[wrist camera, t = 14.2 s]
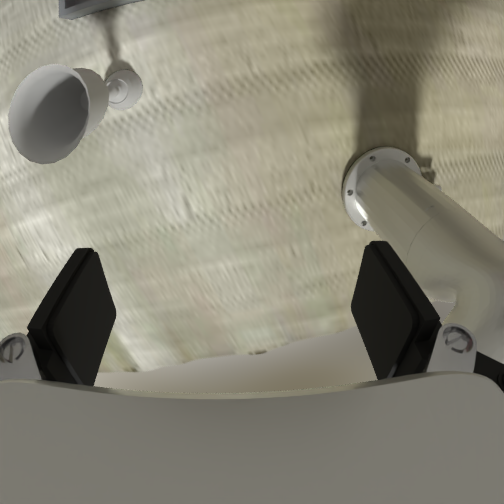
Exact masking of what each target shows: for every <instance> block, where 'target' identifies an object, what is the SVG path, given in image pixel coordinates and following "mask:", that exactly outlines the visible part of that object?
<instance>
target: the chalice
mask: <svg viewBox="0 0 504 504" xmlns="http://www.w3.org/2000/svg"><path fill="white" fill-rule="evenodd" d="M142 88H143V85H142V82H141V79H140V78H139V76H138V75H137V74H136V73H134V72H133V71H130V70H119V71H116V72H114V73H113V74H111V75H110V76H109V77H108V79H107V80H106V81H105V82H104V81H103V79H102V78H101V76H100V75H98V74H97V73H95V72H94V71H92V70H90V69H84V68H76V69H71V68H70V67H68V66H66V65H60V64H50V65H46V66H42V67H39V68H38V69H36V70H35V71H33V72H32V73H30V74H29V75H28V76H27V77H26V78H25V79H24V80H23V81H22V82H21V84H20V85H19V86H18V88H17V90H16V92H15V94H14V96H13V98H12V101H11V105H10V109H9V114H8V117H9V131H10V135H11V138H12V142H13V144H14V145H15V147H16V148H17V150H18V151H19V153H20V154H21V155H23V156H24V157H25V158H27V159H28V160H29V161H32V162H35V163H39V164H49V163H55V162H57V161H59V160H61V159H63V158H65V157H67V156H68V155H69V154H70V153H71V152H72V151H73V150H74V149H75V148H76V147H77V145H78V144H79V142H80V140H81V139H82V138H84V137H86V136H87V135H89V134H90V133H91V132H92V131H93V130H95V129H96V128H97V127H98V125H99V124H100V122H101V121H102V119H103V118H104V115H105V112H106V110H107V107H108V105H109V106H110V107H112V108H114V109H117V110H125V109H128V108H131V107H132V106H133V105H135V104H136V103H137V102H138V100H139V99H140V97H141V94H142Z"/></svg>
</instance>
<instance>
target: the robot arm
mask: <svg viewBox="0 0 504 504" xmlns="http://www.w3.org/2000/svg"><path fill="white" fill-rule="evenodd" d="M370 157H371V158H370ZM348 190H349V191H348ZM347 191H348V192H347ZM342 200H343V204H344V208H345V210H346V212H347V214H348V215H349V217H350V218H351V220H352V221H353V222H354V223H355V224H356V225H358V226H359V227H361V228H363V229H366V230H368V231H375V232H376V233H377V235H378V236H379V237H380V239H381V240H382V241H371V242H370V244H369V245H367V246H366V247H365V249H364V254H363V258H362V262H361V267H360V271H359V275H358V279H357V283H356V287H355V291H354V295H353V299H352V303H351V311H352V314H353V317H354V319H355V322H356V324H357V327H358V329H359V332H360V334H361V337H362V339H363V342H364V344H365V347H366V350H367V352H368V355H369V357H370V360H371V362H372V365H373V368H374V371H375V373H376V376H377V379H378V380H375V381H368V382H362V383H354V384H347V385H339V386H331V387H322V388H312V389H301V390H290V391H274V392H258V393H257V392H255V393H169V392H148V391H134V390H123V389H112V388H103V387H95V386H94V382H95V379H96V376H97V373H98V369H99V366H100V363H101V360H102V357H103V354H104V351H105V348H106V345H107V342H108V339H109V336H110V333H111V330H112V327H113V325H114V322H115V319H116V308H115V305H114V303H113V300H112V297H111V294H110V291H109V288H108V284H107V281H106V278H105V275H104V272H103V268H102V265H101V262H100V258H99V255H98V253H97V252H94V250H93V249H92V248H77V249H76V250H75V251H74V253H73V254H72V256H71V257H70V258H69V260H68V261H67V263H66V264H65V266H64V267H63V269H62V270H61V272H60V273H59V275H58V276H57V278H56V280H55V281H54V283H53V284H52V286H51V287H50V289H49V291H48V292H47V294H46V296H45V297H44V299H43V300H42V302H41V304H40V305H39V307H38V309H37V311H36V312H35V314H34V316H33V317H32V319H31V321H30V323H29V325H28V326H27V329H28V330H29V332H28V334H27V336H26V335H24V334H22V333H14V334H11V335H8V336H7V337H5V338H4V339H3V340H2V341H1V342H0V504H504V241H503V240H501V239H500V238H499V237H498V236H496V235H495V234H494V233H493V232H491V231H490V230H489V229H488V228H487V227H485V226H484V225H483V224H482V223H480V222H479V221H478V220H477V219H476V218H475V217H473V216H472V215H471V214H470V213H468V212H467V211H466V210H465V209H464V208H462V207H461V206H460V205H459V204H457V203H456V202H455V201H454V200H452V199H451V198H450V197H449V196H447V195H446V194H445V193H443V192H442V191H441V186H440V185H437V184H431V183H430V182H429V181H427V180H426V179H425V178H423V177H422V174H421V171H420V168H419V166H418V164H417V163H416V161H415V160H414V159H413V158H412V157H411V156H410V155H409V154H407V153H406V152H404V151H402V150H400V149H398V148H394V147H379V148H375V149H373V150H370V151H368V152H366V153H365V154H363V155H362V156H361V157H360V158H358V159H357V160H356V161H355V162H354V164H353V165H352V166H351V168H350V169H349V171H348V173H347V175H346V177H345V180H344V183H343V190H342ZM426 296H427V297H429V298H431V299H434V300H437V301H442V302H453V303H455V306H454V308H453V309H452V311H451V312H450V314H449V315H448V316H447V317H446V319H445V320H444V322H443V323H442V324H441V323H440V321H439V320H440V317H439V315H438V313H437V312H436V310H435V309H434V307H433V306H432V304H431V303H430V301H429V300H428V298H427V297H426Z"/></svg>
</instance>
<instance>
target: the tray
mask: <svg viewBox="0 0 504 504" xmlns="http://www.w3.org/2000/svg"><path fill="white" fill-rule="evenodd" d="M139 1H143V0H59V17H60V18H65V19H70V20H73V19H76V18H79V17H82V16H85V15H88V14H92V13H95V12H98V11H102V10H106V9H109V8H113V7H117V6H121V5H125V4H129V3H134V2H139Z"/></svg>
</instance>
